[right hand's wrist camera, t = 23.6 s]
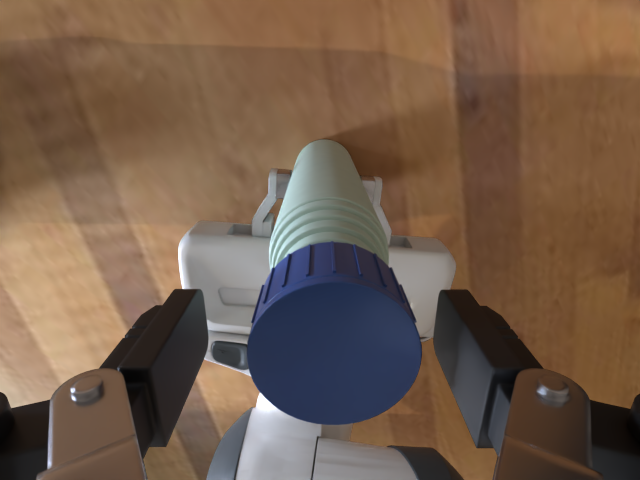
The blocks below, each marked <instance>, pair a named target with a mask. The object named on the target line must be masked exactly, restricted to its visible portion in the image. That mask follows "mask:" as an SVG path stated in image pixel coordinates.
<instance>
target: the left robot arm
mask: <svg viewBox="0 0 640 480" xmlns="http://www.w3.org/2000/svg"><path fill="white" fill-rule="evenodd" d="M291 176H292V170H286V169H277V168H271V170H270V174H269V190H268V194H267V196H266V198H265V199H264V201H263V202H262V204H261V205H260V207H259V208H258V210H257V211H256V213H255V215H254V217H253V219H252V224H243V223H230V222H217V221H199V222H197V223H196V224H195V225H194V226H193V227H192V228H191V229H190V230H189V231H188V232H187V233H186V234H185V235H184V236H183V238H182V239H181V241H180V244H179V248H178V258H179V269H180V277H181V283H182V289H201V290H202V292H203V295H204V302H205V310H206V318H207V326H208V335H209V340H208V348H207V352H206V355H205V358H204V359H205V360H207V361H210V362H213V363H216V364H219V365H222V366H225V367H228V368H231V369H234V370H237V371H239V372H242V373H244V374H247V375H249V376H251V375H250V372H249V368H248V364H247V341H248V338H249V334H250V331H251V327H252V324H253V323H251V321H252V317H253V314H254V310H255V307H256V304H257V300H258V297H259V294H260V290H261V287H262V285H264V284H265V282H266V280H267V278H268V276H269V274H270V273H271V270H270V264H269V246H270V240H271V236H272V233H273V230H274V227H275V226H274V214H273V213H268V212H269V211H270V209H271V208H272V206H273V205H274V203H275V202H276V200H277V199H278V198H281V199H284V197H285V194H286V191H287V188H288V185H289V182H290V179H291ZM360 179H361V181H362V183H363V185H364V187H365V190H366V192H367V194H368V196H369V198H370V201H371V203H372V205H373V207H374V209H375V212H376V214H377V216H378V218H379V220H380V223H381V225H382V227H383V229H384V232H385V234H386V238H387V242H388V251H389V265H388V266H389V268H390V267H392V269H393V271H394V274H395V276H396V278H397V280H398V283H399V285H400V284H401V285H402V287H403V290H404V292H405V294H406V297H407V299H408V302H409V304H410V306H411V309H412V311H413V314H414V316H415V318H416V321H417V322H416V323H415V325H416V327H417V330H418V333H419V335H420V340H421V342H424V341H427V340H429V339H431V338H432V337H433V334H434V326H435V318H436V310H437V303H438V296H439V292H440V291H441V290H450V288H451V285H452V282H453V279H454V276H455V272H456V262H455V260H454V258H453V256H452V254H451V253H450V251H449V250H448V249H447V247H446V246H445V245H444V244H443V243H442V242H441V241H440V240H439V239H437V238H428V237H415V236H402V235H391V233H392V230H391V228H390V226H389V223H388V221H387V219H386V216H385V214H384V212H383V209H382V207H381V205H380V199H381V192H382V179H381V178H380V177H376V176H361V175H360ZM352 426H353V423H351V424H344V425H322V424H315V423H310V422H306V421H302V420H299V419H296V418H294V417H292V416H290V415H287V414H286V413H284V412H282V411H280V410H279V409H277V408H276V407H275V406H273V405H272V404H271V403H270V402H269V401H268V400H267V399H266V398H265V397H264V396H263V395H262V394H261V393H260V394H259V397H258V400H257V405H256V407H255V408H253V407H252V408H250V409H249V410H247V411H246V412H245V413H244V414H243V415H242V416H241V417H240V418H239V419H238V420H237V421H236V422H235V423H234V424H233V425H232V426H231V427H230V428H229V430H228V431H227V432H226V433H225V435H224V436H223V438H222V440H221V441H220V443H219V445H218V447H217V449H216V451H215V454H214V456H213V459H212V462H211V465H210V468H209V471H208V475H207V479H206V480H464V479H463V478H462V477H461V475H460V474H459V473H458V472H457V471H456V470H455V468H454V467H453V466H452V465H451V464H450V463H449V462H448V461H447V460H446V459H445V458H444V457H443V456H442V455H441V454H440V453H438V452H437V451H436V450H435V449H433V448H426V447H407V446H387V447H383V446H377V445H370V444H364V443H357V442H351V441H350V437H351V432H352Z"/></svg>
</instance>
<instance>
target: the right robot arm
mask: <svg viewBox="0 0 640 480" xmlns="http://www.w3.org/2000/svg"><path fill="white" fill-rule="evenodd" d="M208 340H209V335H208V326H207V318H206V310H205V302H204V295H203V292H202V290H201V289H175V290H174V291H173V292H172V293H171V294H170V296H169V297H168V299H167V300H166V301H165V303H164V304H163V305H156V306H154V307H153V308H151V309H150V310H148V311H147V312H145V313H144V314H142V315H141V316H140V317H139V319H138V320H137V321H136V322H135V324H134V325H133V326H132V329H130V330H129V331H128V332H127V334H126V335H125V338H123V339H122V340H121V341H120V343H119V344H118V345H117V346H116V348H115V349H114V350H113V351H112V353H111V354H110V355H109V356H108V358H107V359H106V360H105V361H104V363H103V364H102V365H101V367H100V368H99V369H94V370H90V371H86V372H84V373H81V374H79V375H77V376H74V377H73V378H71V379H69V380H68V381H66V382H65V383H63V384H62V385H61V386H60V387H59V388H58V389H57V390H56V391H55V392H54V394H53V395H52V397H51V400H47V401H42V402H38V403H33V404H29V405H24V406H20V407H15V408H11V407H10V404H9V402H8V399H7V397H6V395H5V394H3V393H1V392H0V480H147V475H146V470H145V466H144V462H143V458H144V456H145V454H146V452H147V450H148V448H149V447H166V446H167V444H168V441H169V439H170V437H171V434H172V432H173V430H174V427H175V425H176V423H177V420H178V418H179V416H180V413H181V411H182V409H183V406H184V404H185V402H186V399H187V397H188V395H189V392H190V390H191V388H192V386H193V383H194V381H195V379H196V376H197V374H198V372H199V369H200V367H201V365H202V362H203V360H204V358H205V355H206V352H207V348H208ZM433 342H434V349H435V353H436V356H437V358H438V361H439V363H440V365H441V367H442V370H443V372H444V374H445V377H446V379H447V381H448V384H449V386H450V388H451V390H452V393H453V395H454V397H455V400H456V402H457V404H458V406H459V409H460V411H461V413H462V416H463V418H464V420H465V422H466V425H467V427H468V429H469V432H470V434H471V436H472V438H473V441H474V443H475V445H476V448H494V449H495V451H496V453H497V455H498V457H497V462H496V466H495V470H494V475H493V480H640V394H639V395H637V396H636V397H635V399H634V402H633V404H632V407H631V409H627V408H623V407H618V406H614V405H609V404H605V403H600V402H596V401H592V400H589V397H588V395H587V394H586V392H585V391H584V390H583V389H582V388H581V387H580V386H579V385H578V384H577V383H575V382H574V381H572V380H571V379H569V378H567V377H566V376H563V375H561V374H559V373H556V372H554V371H550V370H546V369H543V367H542V366H541V365H540V364H539V362H538V361H537V360H536V359H535V357H534V356H533V355H532V354H531V352H530V351H529V350H528V349H527V347H526V346H525V345H524V344H523V342H522V341H521V340H520V339H518V336H517V335H516V334H515V332H514V331H513V330H512V329H510V326H509V325H508V324H507V322H506V321H505V320H504V319H503V317H502V316H501V315H499V314H498V313H496V312H495V311H493V310H492V309H490V308H489V307H487V306H479V304H478V303H477V301H476V300H475V299H474V297H473V296H472V295H471V293H470V292H469V291H468V290H441V291H440V292H439V296H438V303H437V310H436V318H435V326H434V334H433Z"/></svg>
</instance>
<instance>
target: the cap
mask: <svg viewBox="0 0 640 480" xmlns="http://www.w3.org/2000/svg"><path fill="white" fill-rule="evenodd" d="M416 322H417V321H416V318H415V316H414V314H413V311H412V309H411V306H410V304H409V302H408V299H407V297H406V294H405V292H404V290H403V287H402V285H401V284H400V285H399V283H398V280H397V278H396V276H395V274H394V271H393V269H392V267H390V268H389V266H388V265H387V264H386V263H385V262H384V261H383V260H382V259H380V258H379V257H378V256H377V254H376V253H374V254H373V253H372V252H370V251H368V250H366V249H364V248H361V247H359V246H357V245H356V244H354V245H352V244H348V243H341V242H334V241H331V242H322V243H317V244H312V245H311V244H309V245H308V246H306V247H303V248H300V249H298V250H296V251H294V252H293V253H291V254H290V253H289V254H287V257H285V258H284V259H283V260H281V261H280V262H279V263H278V264H277V265H276V266H275V268H274V267H273V268H272V269H271V273H270V274H269V276H268V278H267V280H266V282H265V284H264V285H262V287H261V290H260V294H259V297H258V300H257V304H256V307H255V310H254V314H253V317H252V321H251V323H253V324H252V327H251V331H250V334H249V338H248V341H247V364H248V368H249V372H250V375H251V377H252V379H253V382H254V383H255V385H256V387H257V389H258V390H259V391H260V393H261V394H262V395H263V396H264V397H265V398H266V399H267V400H268V401H269V402H270V403H271V404H272V405H273V406H275V407H276V408H277V409H279V410H280V411H282V412H284V413H286V414H287V415H290V416H292V417H294V418H296V419H299V420H302V421H306V422H310V423H315V424H322V425H344V424H351V423H357V422H361V421H364V420H367V419H370V418H372V417H375V416H377V415H379V414H381V413H383V412H385V411H386V410H388V409H389V408H391V407H392V406H393V405H395V404H396V403H397V402H398V401H399V400H400V399H402V398H403V396H404V395H405V394H406V393H407V392H408V391H409V389H410V388H411V386H412V384H413V383H414V381H415V379H416V377H417V374H418V371H419V368H420V365H421V357H422V345H421V340H420V335H419V333H418V330H417V327H416V325H415V323H416Z"/></svg>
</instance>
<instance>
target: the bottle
mask: <svg viewBox="0 0 640 480" xmlns="http://www.w3.org/2000/svg"><path fill="white" fill-rule="evenodd" d="M331 241H334V242H341V243H348V244H352V245H354V244H356V245H357V246H359V247H361V248H364V249H366V250H368V251H370V252H372V253H373V254H374V253H376V254H377V256H378V257H379V258H380V259H382V260H383V261H384V262H385V263H386V264H387V265H389V251H388V242H387V238H386V234H385V232H384V229H383V227H382V225H381V223H380V220H379V218H378V216H377V214H376V212H375V209H374V207H373V205H372V203H371V201H370V198H369V196H368V194H367V192H366V190H365V187H364V185H363V183H362V181H361V179H360V176H359V174H358V172H357V170H356V167H355V165H354V163H353V161H352V159H351V156H350V154H349V153H348V151H347V150H346V149H345V148H344V147H343V146H342V145H341V144H339V143H337V142H335V141H332V140H327V139H321V140H316V141H313V142H311V143H309V144H308V145H307V146H305V147H304V148H303V149H302V151H301V152H300V153H299V155H298V158H297V161H296V164H295V167H294V170H293V173H292V176H291V179H290V182H289V185H288V188H287V191H286V194H285V197H284V200H283V203H282V206H281V209H280V212H279V215H278V218H277V221H276V224H275V227H274V230H273V233H272V236H271V240H270V246H269V264H270V270H271V269H272V268H273V267H274V268H275V266H276V265H277V264H278V263H279V262H280V261H281V260H283V259H284V258H285V257H287V254H289V253H290V254H291V253H293V252H294V251H296V250H298V249H300V248H303V247H306V246H308V245H309V244H311V245H312V244H317V243H322V242H331Z"/></svg>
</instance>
